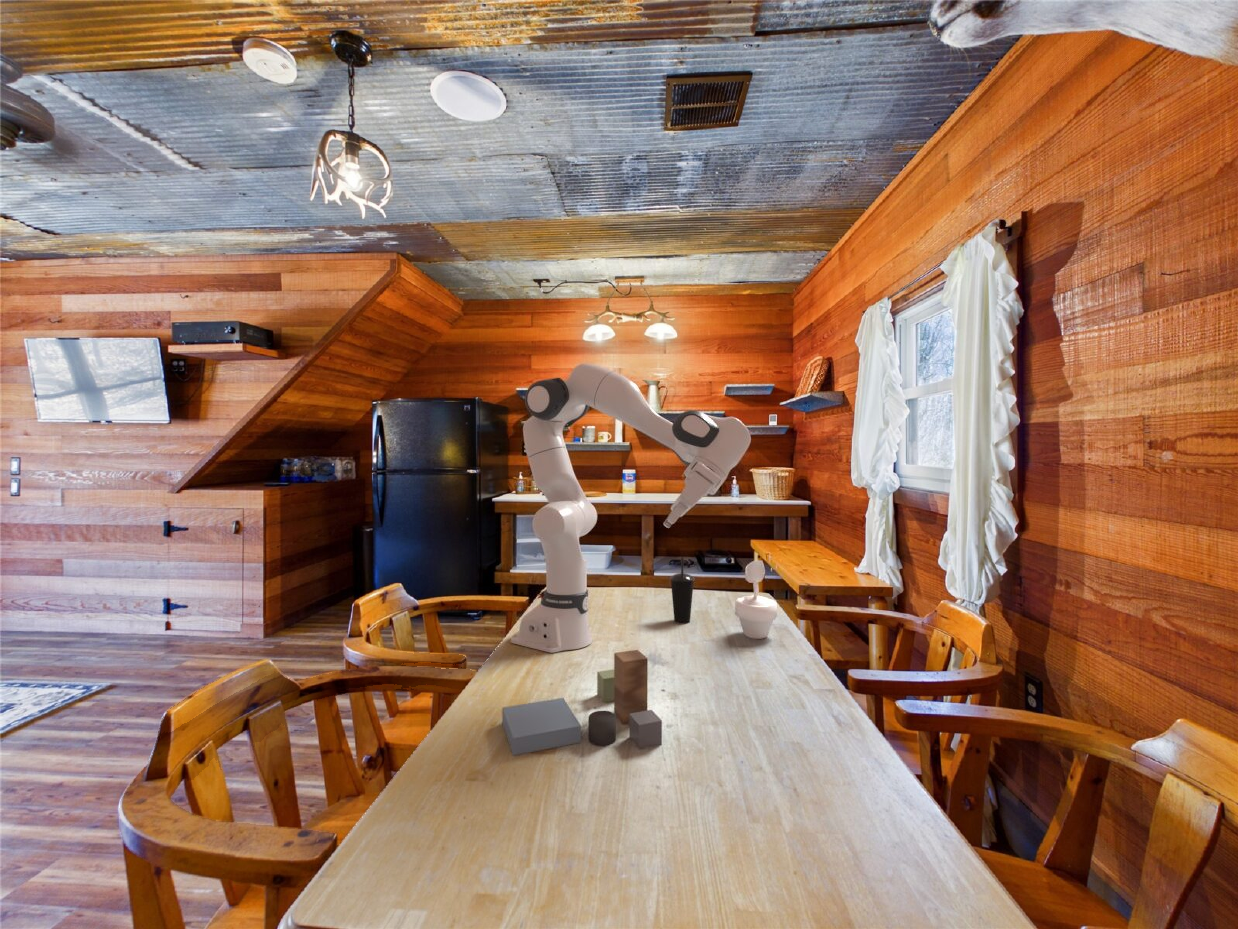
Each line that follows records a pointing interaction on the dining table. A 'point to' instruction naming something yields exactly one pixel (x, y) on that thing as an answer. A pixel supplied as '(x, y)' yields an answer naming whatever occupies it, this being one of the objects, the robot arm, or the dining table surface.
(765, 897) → the dining table surface
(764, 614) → the potted plant
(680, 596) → the drinking cup
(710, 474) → the robot arm
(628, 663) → the walnut block
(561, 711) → the slate riser
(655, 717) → the mauve grey cube
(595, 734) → the charcoal cylinder
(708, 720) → the dining table surface
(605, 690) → the olive block
